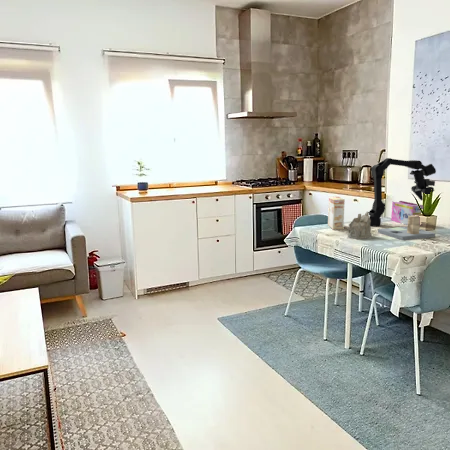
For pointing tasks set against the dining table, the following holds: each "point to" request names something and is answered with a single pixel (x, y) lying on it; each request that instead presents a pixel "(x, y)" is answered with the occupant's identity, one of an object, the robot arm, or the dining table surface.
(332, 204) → the coffeecake box
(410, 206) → the gum box
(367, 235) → the grey rough lump
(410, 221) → the beech post
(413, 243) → the dining table surface
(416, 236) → the board
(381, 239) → the dining table surface
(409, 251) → the dining table surface
